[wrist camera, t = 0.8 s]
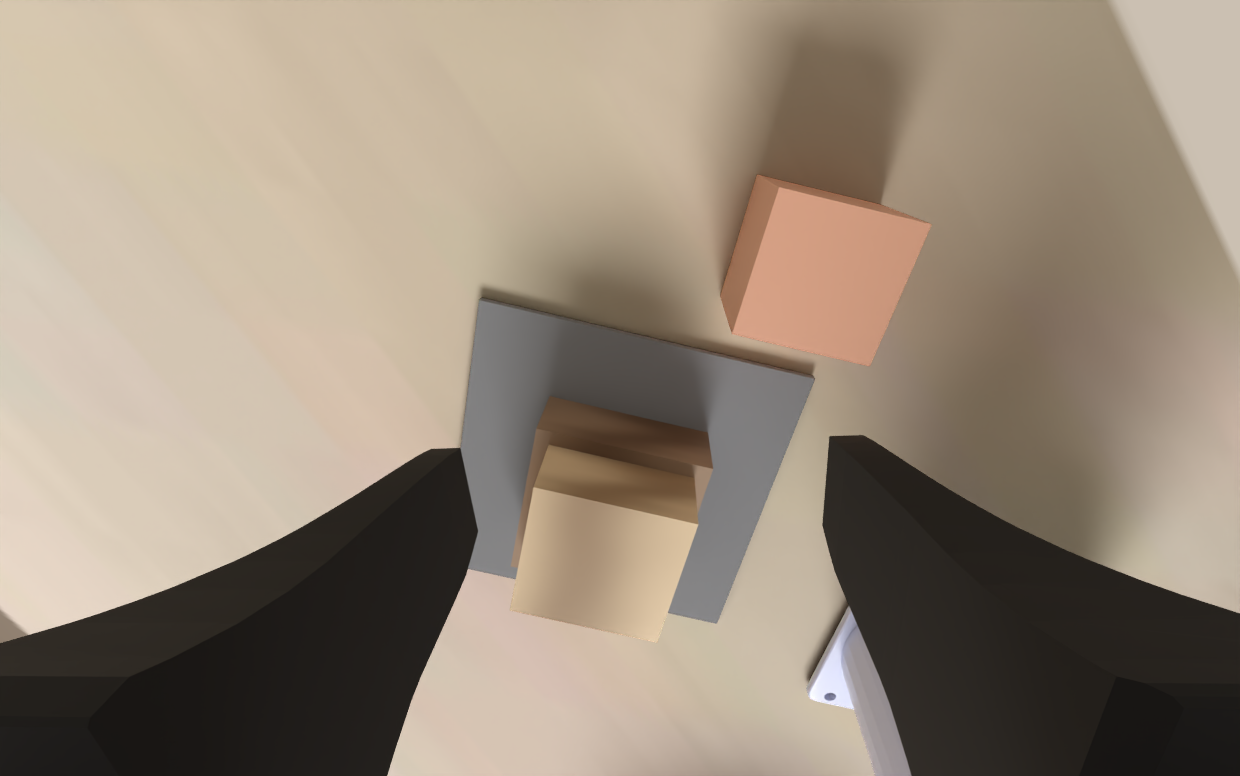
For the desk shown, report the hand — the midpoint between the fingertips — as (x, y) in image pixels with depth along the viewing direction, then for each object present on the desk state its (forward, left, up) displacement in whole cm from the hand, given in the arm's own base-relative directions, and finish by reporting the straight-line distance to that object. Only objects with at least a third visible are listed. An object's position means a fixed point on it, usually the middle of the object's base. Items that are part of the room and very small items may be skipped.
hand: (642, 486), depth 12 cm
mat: (0, +6, -10) cm, 12 cm away
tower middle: (0, +6, -7) cm, 10 cm away
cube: (-4, -4, -10) cm, 11 cm away
